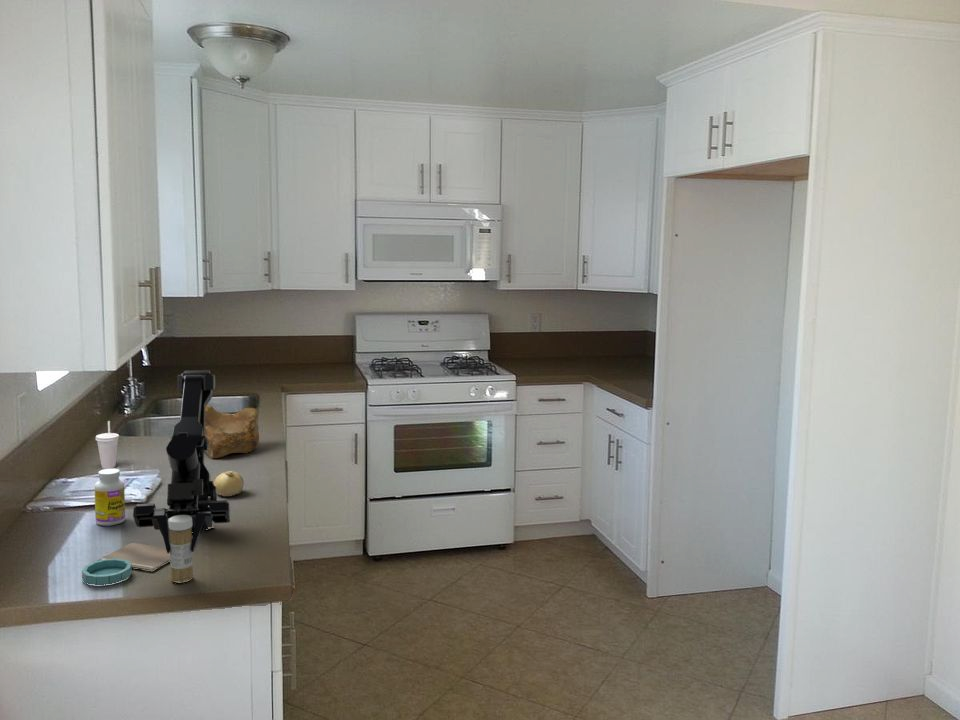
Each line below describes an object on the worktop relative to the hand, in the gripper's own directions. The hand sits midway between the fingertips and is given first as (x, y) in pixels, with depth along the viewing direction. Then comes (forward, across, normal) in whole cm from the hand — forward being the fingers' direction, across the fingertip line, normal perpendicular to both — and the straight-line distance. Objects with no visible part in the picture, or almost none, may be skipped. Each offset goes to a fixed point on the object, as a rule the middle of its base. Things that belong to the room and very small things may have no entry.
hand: (180, 551), depth 167 cm
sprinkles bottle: (+4, 0, +6) cm, 7 cm away
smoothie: (-57, -30, +67) cm, 93 cm away
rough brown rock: (-64, +2, +74) cm, 99 cm away
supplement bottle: (-23, -21, +33) cm, 45 cm away
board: (-6, -10, +15) cm, 19 cm away
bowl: (+1, -15, +9) cm, 17 cm away
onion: (-35, +6, +45) cm, 58 cm away
